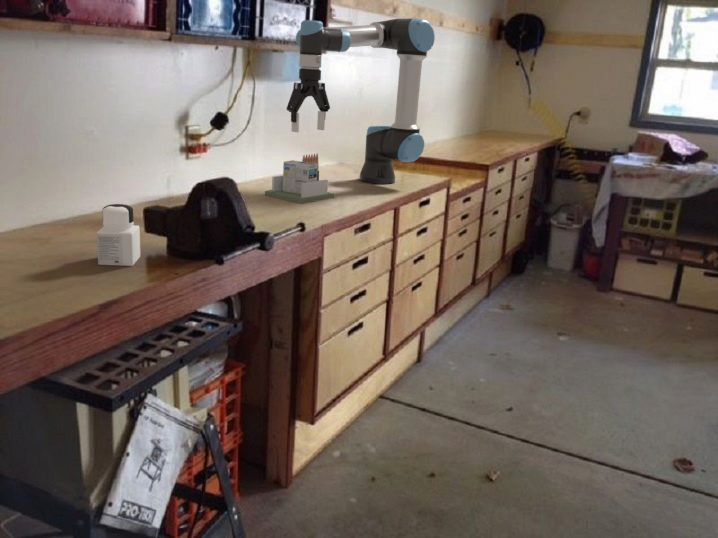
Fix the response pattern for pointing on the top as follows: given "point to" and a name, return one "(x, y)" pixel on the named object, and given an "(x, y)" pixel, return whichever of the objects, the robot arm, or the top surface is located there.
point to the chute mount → (308, 191)
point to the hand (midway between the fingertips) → (308, 131)
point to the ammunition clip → (312, 161)
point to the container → (118, 237)
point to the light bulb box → (298, 175)
